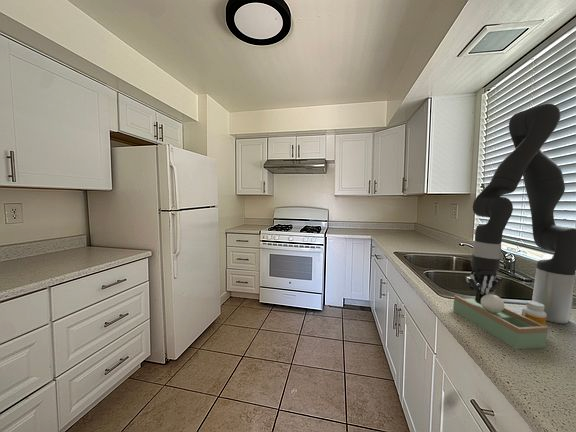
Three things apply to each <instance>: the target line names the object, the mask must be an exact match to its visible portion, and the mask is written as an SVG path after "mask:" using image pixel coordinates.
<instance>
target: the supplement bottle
mask: <svg viewBox="0 0 576 432" xmlns="http://www.w3.org/2000/svg"><path fill="white" fill-rule="evenodd" d="M543 310H544V305H543V304H541V303H538V302H535V301H532V300H526V302H525V306H524V307H522V309H521V315H522V316H524V317H527V318H529V319H531V320H533V321H535V322H537V323H539V324H542V325H544V326H546V322H547V320H546V316H547V315H546V313H545V312H544V311H543Z"/></svg>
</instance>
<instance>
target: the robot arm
mask: <svg viewBox="0 0 576 432" xmlns="http://www.w3.org/2000/svg"><path fill="white" fill-rule="evenodd" d="M561 118H562V117H561V110H560V108H559V107H558V106H557V105H556V104H553V103H545V104H540V105H537V106H533V107H531V108H528V109H525V110H522V111H521V110H520V111H518V112H516V113H514V114H513V115H512V116H511V118H510V119H509V122H508V133H509V135H510V138H511V140H512V143H513V146H514V149H513V151H511V152H510V153H509V154H508V155H507V156H506V157H505V158H504V159H503V160H502V161H501V162H500V164H499V165H498V166H497V168H496V170H495V171H494V173H493V175H492V178H491V179H490V181H489V183H488V185H486V187H484V189H483V190H482V191H481V192H479V194H478V195H477V197H475V199H474V201H473V202H472V203H473V204H472V211H473V213H474V215H476V216H478V217H483V218H489V219H488V221H487V223H481V224H478V225H477V226H476V228H475V233H474V234H475V235H474V243H473V246H472V254H471V261H470V266H471V268H472V270H471V271H470V275H468V276H464V280H465V282H466V284H467V286H468V287H469V289H470V290H471V291H473V292H475V295H476V298H475V297H474V299H475V300H476V302H477V303H479V304H481V298H482V297H483V296H484V295H486V294H492V293H493V292H494V291H495V290H496V289H497V288H498V287H499V286H500V284H501V283H502V282H503V279H502V278H501V277H499V276H497V275H498V273H497V272H498V271H500V264H501V258H502V241H503V232H504V230H505V228H506V226H507V224H508V222H509V221H510V218H511V216H512V214H513V210H514V206H513V202H512V200H511V199H509V198H507V197H505V196H504V195H508V194H512V193H513V192H515V191H516V189H517V187H518V186H519V183H520V182H521V179H522V177H523V183H524V187H525V192H526V196H527V198H528V203H529V209H530V216H531V226H532V238H533V241H534V243H535V245H536V246H537V248H540V249H541V250H544V251H550V252H554V253H553V256H552V257H551V258H550V259H539V260H538V261H537V262H536V269H535V277H534V283H533V292H532V299H531V301H535V302H538V303H541V304H543V305H544V310H543V311H544V312H545V313H546V315H547V316H546V322H547V321H548V322H551V323H557V324H568V323H569V322H570V320H571V315H572V308H573V301H574V294H573V291H574V285H575V277H576V228H575V227H569V226H561V225H556V222H555V217H554V216H555V215H554V212H555V208H556V206H557V205H558V203H559V202H560V200H561V199H562V197H563V195H564V193H565V192H566V191H565V190H566V184H565V181H564V175H563V171H562V168H561V167H560V166H559V165H558V164H557V163H556V162H555V161H554V160H552V159H551V158H550V157H549V156H548V155H546V154H545V152H543V151H542V150H541V149H542V147H543V146H544V145H545V143H546V142H547V140H548V139H549V138H550V136H552V134H553V133H554V131H555V130H556V128H557V127H558V125H559V123H560V121H561Z"/></svg>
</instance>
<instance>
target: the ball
mask: <svg viewBox="0 0 576 432" xmlns="http://www.w3.org/2000/svg"><path fill="white" fill-rule="evenodd" d="M481 305H482V307H483V308H484V309H485V310H486V311H488V312H490V313H500V312H501V311H503V309H504V307H505V302H504V301H503V299H502V298H501V296H498V295H496V294H492V293H488V294H486V295H484V296H483V297H482V298H481Z"/></svg>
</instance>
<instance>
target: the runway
mask: <svg viewBox="0 0 576 432" xmlns="http://www.w3.org/2000/svg"><path fill="white" fill-rule="evenodd" d="M475 298H476V294H475V297H474V298H463V297H461V296H458V295H454V298H453V308H452V311H453V312H454V313H456V314H457V315H459V316H461V317H463V318H464V319H466V320H468V321H469V322H471V323H473V324H475V325H476V327H477V326H478V327H479V328H481V329H482V330H484V331H485V332H488V333H489V334H490V335H492V336H494V337H496V338H497V339H499V340H501V341H502V342H504V343H506V344H507V345H509V346H511V347H512V348H513V349H516V350H526V349H538V348H539V349H540V348H543V349H544V348H546V345H547V339H548V331H549V327H548V326H546V325H545V326H544V325H542V324H539V323H537V322H535V321H533V320H531V319H529V318H527V317H524V316H522V314H521V313H518V312H516V311H513V310H511V309H509V308H507V307H505V306H504V309H503V311H501V312H500V313H490V312H488V311H486V310H485V309H484V308H483V307H482V305H481V304H479V303H477V302H476V300H475Z"/></svg>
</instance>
